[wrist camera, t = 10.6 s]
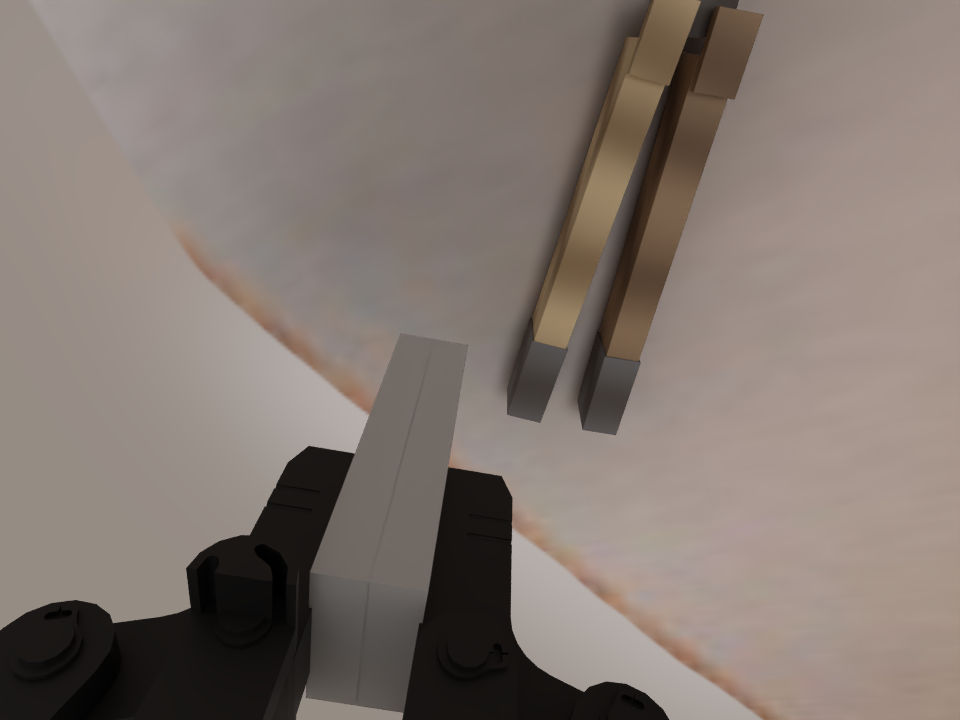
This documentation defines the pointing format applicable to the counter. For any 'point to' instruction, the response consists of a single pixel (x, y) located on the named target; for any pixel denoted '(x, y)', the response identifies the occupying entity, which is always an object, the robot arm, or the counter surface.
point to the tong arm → (598, 199)
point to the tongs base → (665, 204)
